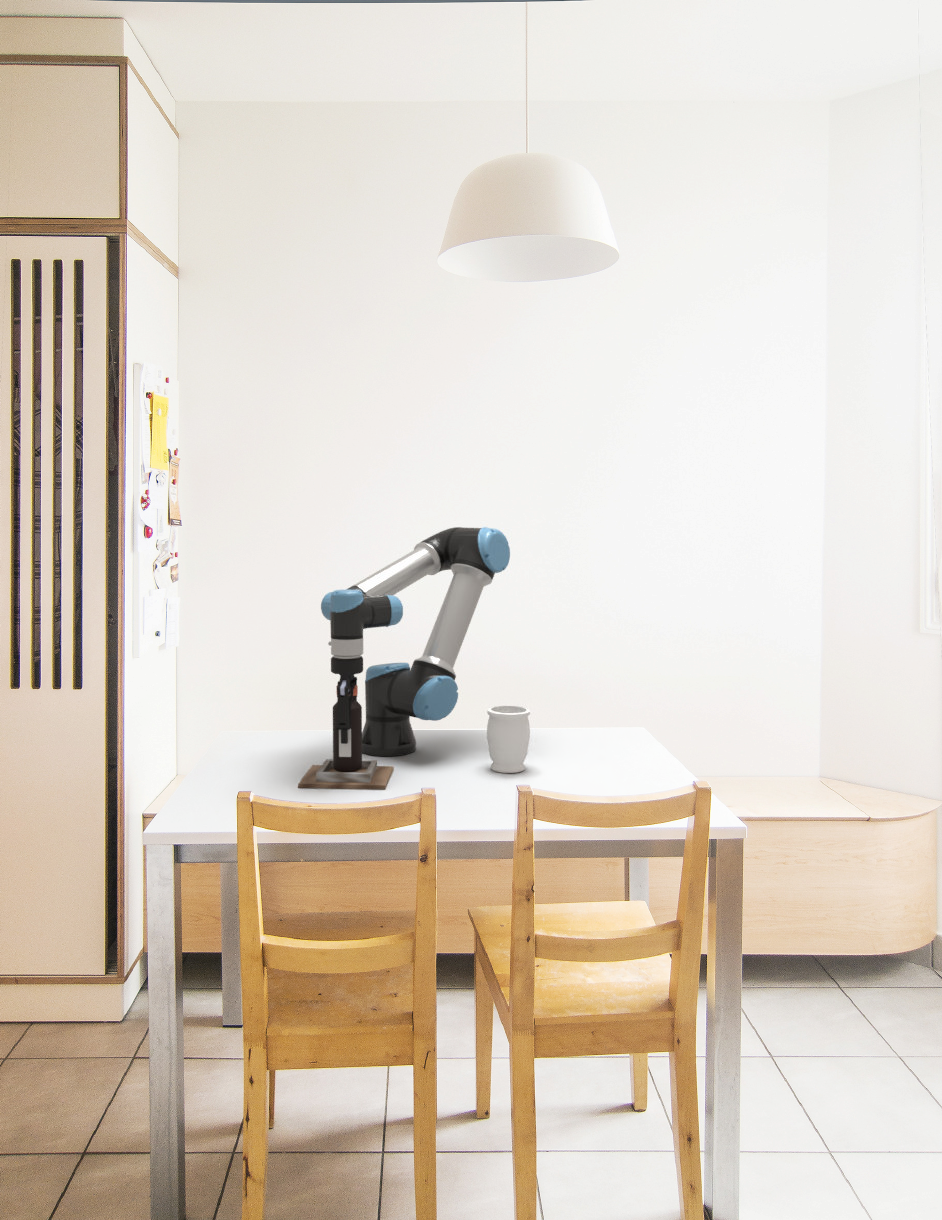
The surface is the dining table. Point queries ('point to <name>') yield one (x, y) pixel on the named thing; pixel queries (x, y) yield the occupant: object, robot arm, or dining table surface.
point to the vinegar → (356, 738)
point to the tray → (347, 776)
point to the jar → (508, 737)
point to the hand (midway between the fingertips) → (347, 752)
